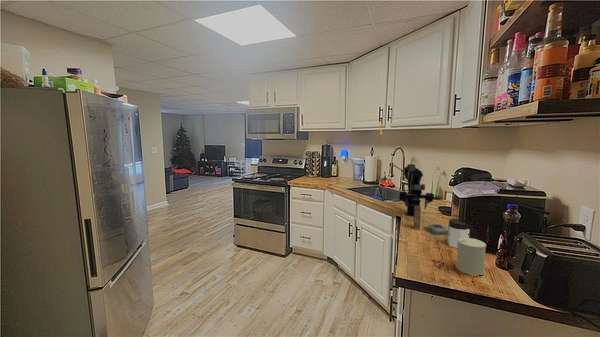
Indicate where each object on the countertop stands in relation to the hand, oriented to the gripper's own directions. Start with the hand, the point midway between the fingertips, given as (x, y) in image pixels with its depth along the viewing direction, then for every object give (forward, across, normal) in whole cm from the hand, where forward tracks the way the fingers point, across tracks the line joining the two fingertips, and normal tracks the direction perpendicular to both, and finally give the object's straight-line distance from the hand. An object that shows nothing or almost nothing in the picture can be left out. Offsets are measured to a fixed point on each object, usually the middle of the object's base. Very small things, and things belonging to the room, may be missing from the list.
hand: (416, 208), depth 145 cm
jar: (+24, +16, -8) cm, 30 cm away
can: (+42, +14, -26) cm, 51 cm away
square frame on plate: (+12, +10, +4) cm, 16 cm away
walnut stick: (+11, 0, +5) cm, 12 cm away
